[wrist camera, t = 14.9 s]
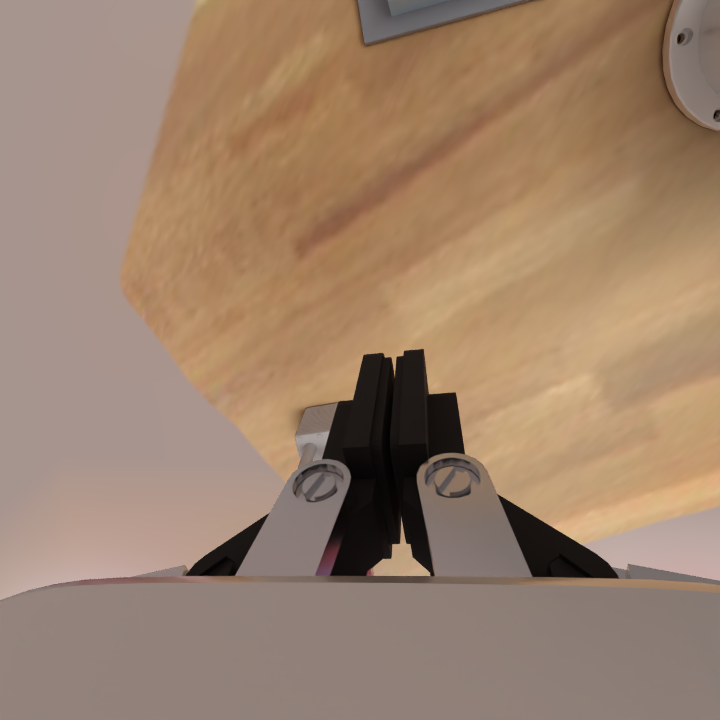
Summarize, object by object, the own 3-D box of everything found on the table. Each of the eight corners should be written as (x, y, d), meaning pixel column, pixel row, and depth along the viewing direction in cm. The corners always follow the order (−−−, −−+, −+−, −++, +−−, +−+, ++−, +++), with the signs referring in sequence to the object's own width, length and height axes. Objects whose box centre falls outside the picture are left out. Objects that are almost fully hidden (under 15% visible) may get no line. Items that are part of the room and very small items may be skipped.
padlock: (370, 400, 44) (358, 469, 35) (374, 431, 45) (364, 503, 37) (304, 402, 45) (277, 469, 36) (311, 432, 47) (286, 502, 38)
